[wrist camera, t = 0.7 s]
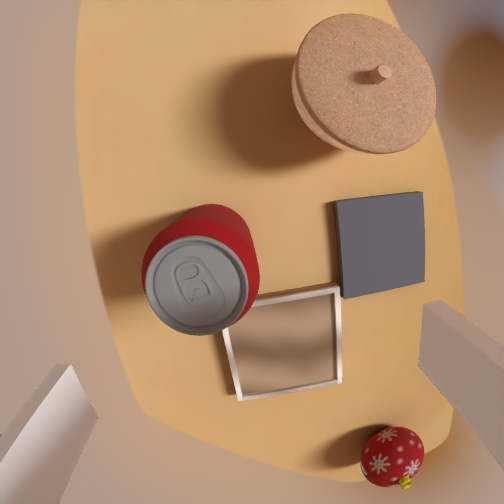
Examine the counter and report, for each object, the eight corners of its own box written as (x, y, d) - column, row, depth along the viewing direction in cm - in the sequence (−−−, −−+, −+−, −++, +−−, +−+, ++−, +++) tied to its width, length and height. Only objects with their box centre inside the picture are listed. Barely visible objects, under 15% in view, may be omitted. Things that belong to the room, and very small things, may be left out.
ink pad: (333, 200, 27) (336, 201, 26) (417, 191, 27) (422, 192, 26) (340, 295, 29) (344, 299, 28) (419, 278, 29) (424, 281, 28)
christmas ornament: (403, 445, 36) (429, 491, 26) (350, 461, 36) (369, 513, 26) (413, 406, 34) (446, 455, 24) (354, 424, 34) (380, 481, 24)
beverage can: (193, 288, 28) (167, 360, 17) (163, 220, 27) (111, 252, 15) (262, 262, 28) (280, 323, 16) (234, 191, 26) (233, 201, 15)
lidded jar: (335, 182, 27) (381, 186, 17) (255, 90, 24) (264, 49, 15) (411, 116, 25) (471, 101, 16) (340, 31, 23) (377, -16, 14)
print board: (218, 300, 29) (217, 306, 27) (335, 281, 29) (339, 286, 27) (238, 392, 31) (238, 400, 30) (338, 375, 31) (342, 382, 30)
